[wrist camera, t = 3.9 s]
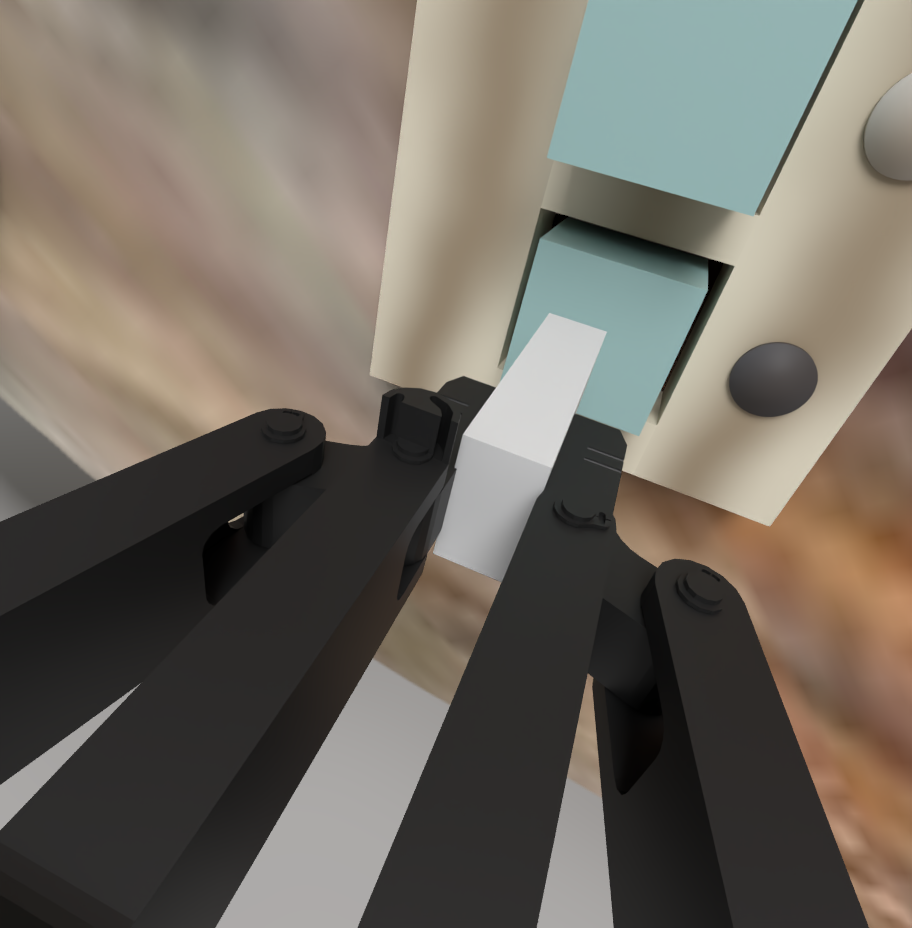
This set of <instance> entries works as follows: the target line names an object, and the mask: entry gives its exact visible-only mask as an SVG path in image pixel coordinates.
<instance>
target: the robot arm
mask: <svg viewBox="0 0 912 928" xmlns="http://www.w3.org/2000/svg"><path fill="white" fill-rule="evenodd" d="M606 333H607V332H606V331H603V330H600V329H597V328H594V327H591V326H588V325H585V324H582V323H579V322H576V321H573V320H570V319H567V318H564V317H561V316H557V315H554V314H551V313H549V314H548V316H547V317H546V318H545V320H544V321H543V323H542V324H541V325H540V327H539V328H538V330H537V331H536V332H535V334H534V335H533V337H532V338H531V339H530V341H529V342H528V344H527V345H526V346H525V348H524V349H523V351H522V352H521V353H520V355H519V356H518V358H517V359H516V360H515V362H514V363H513V365H512V366H511V367H510V369H509V370H508V372H507V373H506V375H505V376H504V377H503V379H502V380H501V382H500V383H499V384H498V386H497V387H493V386H490V385H488V384H485V383H482V382H479V381H476V380H474V379H471V378H468V377H465V376H462V377H459V378H456V379H453V380H451V381H448V382H446V383H445V384H444V385H443V386H442V387H441V389H440V390H439V391H438V392H437V393H436V392H433V391H429V390H425V389H422V388H407V387H405V388H399V389H393V390H391V391H389V392H387V393H385V394H383V395H382V402H381V409H380V416H379V423H378V430H377V437H376V438H375V439H374V440H373V441H372V442H371V443H370V444H369V445H368V446H357V445H348V444H342V443H336V442H330V441H325V439H326V431H325V429H324V426H323V424H322V423H321V422H320V421H319V420H318V419H317V418H315V417H314V416H312V415H310V414H307V413H305V412H303V411H299V410H293V409H287V408H283V409H268V410H265V411H261V412H257V413H255V414H252V415H250V416H248V417H245V418H243V419H241V420H238V421H236V422H234V423H231V424H229V425H226V426H224V427H222V428H219V429H217V430H215V431H212V432H210V433H208V434H205V435H203V436H201V437H198V438H196V439H194V440H191V441H189V442H187V443H184V444H182V445H180V446H177V447H175V448H172V449H170V450H168V451H165V452H163V453H161V454H158V455H156V456H154V457H151V458H149V459H147V460H144V461H142V462H140V463H137V464H135V465H133V466H130V467H128V468H125V469H123V470H121V471H118V472H116V473H114V474H111V475H109V476H107V477H104V478H102V479H100V480H97V481H95V482H93V483H90V484H88V485H86V486H83V487H81V488H79V489H76V490H74V491H71V492H69V493H67V494H64V495H62V496H60V497H57V498H55V499H53V500H50V501H49V502H46V503H44V504H41V505H39V506H36V507H34V508H32V509H29V510H27V511H24V512H22V513H20V514H17V515H15V516H13V517H11V518H8V519H6V520H3V521H1V522H0V784H2V783H3V782H5V781H6V780H7V779H9V778H10V777H12V776H13V775H14V774H16V773H17V772H19V771H20V770H21V769H23V768H24V767H25V766H27V765H28V764H29V763H31V762H32V761H34V760H35V759H36V758H38V757H39V756H40V755H42V754H43V753H45V752H46V751H48V750H49V749H50V748H52V747H53V746H54V745H56V744H57V743H59V742H60V741H61V740H62V739H64V738H65V737H67V736H68V735H70V734H71V733H72V732H74V731H75V730H77V729H78V728H79V727H80V726H82V725H83V724H85V723H86V722H88V721H89V720H90V719H92V718H93V717H95V716H96V715H97V714H99V713H100V712H101V711H103V710H104V709H106V708H107V707H108V706H110V705H111V704H112V703H114V702H115V701H117V700H118V699H119V698H121V697H122V696H124V695H125V694H126V693H127V692H129V691H130V690H132V689H133V688H134V687H136V686H137V685H139V684H140V683H141V682H142V683H141V684H140V685H139V686H138V687H137V688H136V689H135V690H134V691H133V692H132V693H131V694H130V695H129V696H128V697H127V699H126V700H125V701H124V702H123V703H122V704H121V705H120V706H119V707H118V708H117V709H116V710H115V711H114V712H113V713H112V714H111V715H110V717H109V718H108V719H107V720H105V722H104V723H103V724H102V725H101V726H100V727H99V728H98V729H97V730H96V731H95V732H94V733H93V734H92V735H91V736H90V737H89V738H88V739H87V740H86V742H85V743H84V744H83V745H82V746H81V747H80V748H79V749H78V750H77V751H76V752H75V753H74V754H73V755H72V756H71V757H70V758H69V759H68V760H67V761H66V762H65V764H63V765H62V767H61V768H60V769H59V770H58V771H57V772H56V773H55V774H54V775H53V776H52V777H51V778H50V779H49V780H48V781H47V782H46V783H45V784H44V785H43V787H42V788H40V790H39V791H38V792H37V793H36V794H35V795H34V796H33V797H32V798H31V799H30V800H29V801H28V802H27V803H26V804H25V805H24V806H23V807H22V808H21V809H20V810H19V812H18V813H17V814H16V815H15V816H14V817H13V818H12V819H11V820H10V821H9V822H8V823H7V824H6V825H5V826H4V827H3V828H2V829H1V830H0V928H215V927H216V925H217V924H218V922H219V920H220V919H221V917H222V915H223V913H224V912H225V910H226V908H227V907H228V905H229V903H230V901H231V899H232V898H233V896H234V895H235V893H236V891H237V890H238V888H239V886H240V884H241V883H242V881H243V879H244V878H245V876H246V874H247V872H248V871H249V869H250V867H251V866H252V864H253V862H254V860H255V859H256V857H257V855H258V854H259V852H260V850H261V848H262V847H263V845H264V843H265V842H266V840H267V838H268V836H269V835H270V833H271V831H272V830H273V828H274V826H275V824H276V822H277V821H278V819H279V818H280V816H281V814H282V812H283V811H284V809H285V807H286V806H287V804H288V802H289V800H290V799H291V797H292V795H293V794H294V792H295V790H296V788H297V787H298V785H299V783H300V782H301V780H302V778H303V776H304V775H305V773H306V771H307V770H308V768H309V766H310V764H311V763H312V761H313V759H314V758H315V756H316V754H317V752H318V751H319V749H320V747H321V746H322V744H323V742H324V741H325V739H326V737H327V735H328V734H329V732H330V730H331V728H332V727H333V725H334V723H335V722H336V720H337V718H338V717H339V714H340V713H341V711H342V709H343V708H344V706H345V704H346V703H347V701H348V699H349V698H350V696H351V694H352V693H353V691H354V689H355V687H356V686H357V684H358V682H359V680H360V679H361V677H362V675H363V674H364V672H365V670H366V669H367V667H368V665H369V663H370V662H371V660H372V658H373V657H374V655H375V653H376V651H377V650H378V648H379V646H380V645H381V643H382V641H383V639H384V638H385V636H386V634H387V633H388V631H389V629H390V628H391V626H392V624H393V622H394V621H395V619H396V617H397V616H398V614H399V612H400V610H401V609H402V607H403V605H404V604H405V602H406V600H407V598H408V597H409V595H410V593H411V592H412V590H413V588H414V586H415V585H416V583H417V581H418V580H419V578H420V576H421V574H422V572H423V569H424V565H425V561H426V557H427V553H428V551H429V550H430V548H431V546H432V545H433V543H434V541H435V540H436V538H437V540H436V544H435V548H434V552H433V554H435V555H438V556H440V557H443V558H445V559H447V560H450V561H452V562H454V563H457V564H459V565H462V566H464V567H466V568H469V569H471V570H474V571H476V572H478V573H481V574H483V575H486V576H488V577H490V578H493V579H495V580H498V581H500V582H502V583H501V585H500V588H499V590H498V592H497V595H496V597H495V600H494V602H493V604H492V607H491V609H490V612H489V614H488V616H487V619H486V621H485V624H484V626H483V628H482V631H481V633H480V635H479V638H478V640H477V643H476V645H475V647H474V650H473V652H472V655H471V657H470V659H469V662H468V664H467V667H466V669H465V671H464V674H463V676H462V679H461V681H460V683H459V686H458V688H457V691H456V693H455V695H454V698H453V700H452V703H451V705H450V707H449V710H448V712H447V715H446V717H445V720H444V722H443V724H442V727H441V729H440V732H439V734H438V736H437V739H436V741H435V743H434V746H433V748H432V751H431V753H430V755H429V758H428V760H427V763H426V765H425V767H424V770H423V772H422V775H421V777H420V780H419V782H418V784H417V787H416V789H415V791H414V794H413V796H412V799H411V801H410V803H409V806H408V809H407V811H406V813H405V815H404V818H403V820H402V823H401V825H400V827H399V830H398V832H397V835H396V837H395V839H394V842H393V844H392V847H391V849H390V851H389V854H388V856H387V858H386V861H385V863H384V866H383V868H382V870H381V873H380V875H379V878H378V880H377V883H376V885H375V887H374V890H373V892H372V895H371V897H370V899H369V902H368V904H367V906H366V909H365V911H364V914H363V916H362V918H361V921H360V923H359V926H358V928H537V923H538V918H539V912H540V908H541V903H542V898H543V893H544V888H545V883H546V878H547V872H548V868H549V863H550V858H551V853H552V848H553V843H554V838H555V833H556V828H557V823H558V818H559V812H560V808H561V803H562V798H563V793H564V788H565V783H566V778H567V773H568V768H569V763H570V758H571V753H572V748H573V743H574V738H575V733H576V728H577V723H578V718H579V714H580V709H581V704H582V699H583V694H584V689H585V684H586V679H587V674H590V675H591V676H592V677H593V686H592V688H593V700H594V711H595V722H596V733H597V744H598V756H599V767H600V778H601V789H602V801H603V811H604V823H605V834H606V845H607V856H608V867H609V879H610V889H611V901H612V913H613V924H614V928H869V927H868V924H867V921H866V919H865V916H864V914H863V911H862V908H861V906H860V903H859V901H858V898H857V895H856V893H855V890H854V887H853V885H852V882H851V880H850V877H849V874H848V872H847V869H846V867H845V864H844V861H843V859H842V856H841V854H840V851H839V848H838V846H837V843H836V841H835V838H834V835H833V833H832V830H831V827H830V825H829V822H828V820H827V817H826V814H825V812H824V809H823V807H822V804H821V801H820V799H819V796H818V794H817V791H816V788H815V786H814V783H813V780H812V778H811V775H810V773H809V770H808V767H807V765H806V762H805V760H804V757H803V754H802V752H801V749H800V747H799V744H798V741H797V739H796V736H795V733H794V731H793V728H792V726H791V723H790V720H789V718H788V715H787V713H786V710H785V707H784V705H783V702H782V700H781V697H780V694H779V692H778V689H777V686H776V684H775V681H774V679H773V676H772V673H771V671H770V668H769V666H768V663H767V660H766V658H765V655H764V653H763V650H762V647H761V645H760V642H759V640H758V637H757V634H756V632H755V629H754V626H753V624H752V621H751V619H750V616H749V613H748V611H747V608H746V606H745V603H744V601H743V600H742V598H741V596H740V595H739V593H738V591H737V590H736V589H735V588H734V587H733V586H732V585H731V584H730V583H729V582H728V581H727V580H726V579H725V578H724V577H723V576H722V575H720V574H718V573H717V572H715V571H714V570H712V569H710V568H709V567H707V566H705V565H702V564H699V563H696V562H694V561H691V560H683V559H672V560H669V561H665V562H662V564H661V565H660V566H659V567H658V568H657V567H655V566H654V565H652V564H651V563H649V562H648V561H646V560H644V559H643V558H641V557H640V556H639V555H637V554H636V553H635V552H633V551H632V550H631V549H630V548H629V547H628V546H627V545H626V544H625V543H624V542H623V541H622V540H621V539H620V537H619V536H618V534H617V532H616V521H615V518H614V516H613V511H614V506H615V501H616V496H617V492H618V487H619V482H620V477H621V472H622V468H623V463H624V462H623V461H624V459H625V454H626V449H627V444H626V442H625V439H624V437H623V435H622V433H621V431H620V430H619V429H616V428H613V427H610V426H608V425H605V424H602V423H599V422H596V421H594V420H591V419H588V418H585V417H582V416H580V415H577V414H576V412H577V409H578V406H579V404H580V401H581V399H582V396H583V393H584V391H585V388H586V385H587V383H588V380H589V378H590V375H591V372H592V370H593V367H594V365H595V362H596V359H597V357H598V354H599V351H600V349H601V346H602V344H603V341H604V338H605V336H606ZM242 513H244V516H243V517H241V518H239V519H238V520H236V521H233V522H230V523H228V521H230V520H232V519H233V518H235V517H237V516H239V515H240V514H242Z"/></svg>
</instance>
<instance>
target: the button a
mask: <svg viewBox="0 0 912 928" xmlns="http://www.w3.org/2000/svg"><path fill="white" fill-rule="evenodd" d="M707 291H708V259H706V258H702V257H699V256H696V255H692V254H689V253H686V252H682V251H679V250H676V249H672V248H669V247H666V246H662V245H659V244H656V243H653V242H649V241H646V240H643V239H639V238H636V237H633V236H629V235H626V234H623V233H619V232H616V231H613V230H609V229H606V228H603V227H599V226H596V225H593V224H589V223H586V222H583V221H579V220H576V219H573V218H569V217H567V218H566V219H565V220H563V221H562V222H561V223H559V224H558V225H557V226H556V227H554V228H553V229H552V230H550V231H549V232H548V233H546V234H545V235H544V236H542V237H541V238H540V240H539V244H538V247H537V251H536V255H535V258H534V262H533V265H532V269H531V273H530V276H529V280H528V283H527V287H526V290H525V294H524V298H523V301H522V305H521V308H520V312H519V315H518V319H517V323H516V326H515V330H514V333H513V337H512V340H511V344H510V348H509V351H508V355H507V358H506V362H505V365H504V369H503V373H502V376H501V380H502V379H503V377H504V376H505V375H506V373H507V372H508V370H509V369H510V367H511V366H512V365H513V363H514V362H515V360H516V359H517V358H518V356H519V355H520V353H521V352H522V351H523V349H524V348H525V346H526V345H527V344H528V342H529V341H530V339H531V338H532V337H533V335H534V334H535V332H536V331H537V330H538V328H539V327H540V325H541V324H542V323H543V321H544V320H545V318H546V317H547V316H548V314H549V313H551V314H554V315H557V316H561V317H564V318H567V319H570V320H573V321H576V322H579V323H582V324H585V325H588V326H591V327H594V328H597V329H600V330H603V331H606V332H607V333H606V336H605V338H604V341H603V344H602V346H601V349H600V351H599V354H598V357H597V359H596V362H595V365H594V367H593V370H592V372H591V375H590V378H589V380H588V383H587V385H586V388H585V391H584V393H583V396H582V399H581V401H580V404H579V406H578V409H577V412H576V413H577V414H579V415H582V416H585V417H588V418H590V419H593V420H596V421H598V422H601V423H604V424H607V425H609V426H612V427H615V428H618V429H620V430H623V431H626V432H629V433H631V434H634V435H637V436H639V435H640V433H641V431H642V429H643V427H644V425H645V423H646V420H647V418H648V416H649V414H650V412H651V410H652V408H653V406H654V403H655V401H656V399H657V397H658V395H659V393H660V391H661V389H662V387H663V384H664V382H665V380H666V378H667V376H668V374H669V372H670V370H671V367H672V365H673V363H674V361H675V359H676V357H677V355H678V353H679V351H680V348H681V346H682V344H683V342H684V340H685V338H686V336H687V334H688V331H689V329H690V327H691V325H692V323H693V321H694V319H695V317H696V315H697V312H698V310H699V308H700V306H701V304H702V302H703V300H704V298H705V295H706V293H707ZM501 380H500V382H501Z"/></svg>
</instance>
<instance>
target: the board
mask: <svg viewBox="0 0 912 928" xmlns="http://www.w3.org/2000/svg"><path fill="white" fill-rule="evenodd" d="M587 4H588V0H417V6H416V14H415V22H414V30H413V38H412V46H411V53H410V61H409V69H408V77H407V85H406V93H405V101H404V109H403V117H402V124H401V132H400V140H399V148H398V156H397V164H396V172H395V180H394V188H393V195H392V203H391V211H390V219H389V227H388V235H387V243H386V251H385V259H384V266H383V274H382V282H381V290H380V298H379V306H378V314H377V322H376V330H375V337H374V345H373V353H372V361H371V369H370V375H371V376H373V377H376V378H379V379H381V380H384V381H387V382H389V383H392V384H395V385H397V386H400V387H402V388H405V387H407V388H422V389H425V390H429V391H433V392H436V393H437V392H438V391H439V390H440V389H441V387H442V386H443V385H444V384H445V383H446V382H448V381H451V380H453V379H456V378H459V377H462V376H465V377H468V378H471V379H474V380H476V381H479V382H482V383H485V384H488V385H490V386H493V387H497V386H498V384H499V383H500V380H501V376H502V373H503V369H504V365H505V362H506V358H507V355H508V351H509V348H510V344H511V340H512V337H513V333H514V330H515V326H516V323H517V319H518V315H519V312H520V308H521V305H522V301H523V298H524V294H525V290H526V287H527V283H528V280H529V276H530V273H531V269H532V265H533V262H534V258H535V255H536V251H537V247H538V244H539V240H540V238H541V237H542V236H544V235H545V234H546V233H548V232H549V231H550V230H551V229H552V225H553V222H554V218H555V215H556V213H560V214H563V215H566V216H570V217H573V218H576V219H580V220H583V221H586V222H590V223H593V224H596V225H600V226H603V227H606V228H610V229H613V230H616V231H620V232H623V233H626V234H630V235H633V236H636V237H640V238H643V239H646V240H650V241H653V242H656V243H660V244H663V245H666V246H670V247H673V248H676V249H680V250H683V251H686V252H690V253H693V254H696V255H699V256H703V257H706V258H709V259H713V260H716V261H719V262H723V263H724V264H723V266H722V268H721V270H720V272H719V274H718V276H717V278H716V280H715V283H714V285H713V287H712V289H711V291H710V293H709V295H708V297H707V299H706V302H705V304H704V306H703V308H702V310H701V312H700V314H699V316H698V318H697V320H696V323H695V325H694V327H693V329H692V331H691V333H690V335H689V337H688V339H687V342H686V344H685V346H684V348H683V350H682V352H681V354H680V356H679V358H678V360H677V363H676V365H675V367H674V369H673V371H672V373H671V375H670V377H669V379H668V381H667V384H666V386H665V388H664V390H663V392H662V391H660V393H659V395H658V397H657V399H656V401H655V403H654V406H653V408H652V410H651V412H650V414H649V416H648V418H647V420H646V423H645V425H644V427H643V429H642V431H641V433H640V435H639V436H637V435H634V434H631V433H629V432H626V431H623V430H620V429H619V430H620V431H621V433H622V435H623V437H624V439H625V442H626V444H627V449H626V454H625V459H624V461H623V462H624V463H623V468H622V471H624V472H627V473H630V474H632V475H635V476H638V477H640V478H643V479H646V480H648V481H651V482H653V483H656V484H659V485H661V486H664V487H667V488H669V489H672V490H675V491H677V492H680V493H683V494H685V495H688V496H690V497H693V498H696V499H698V500H701V501H704V502H706V503H709V504H712V505H714V506H717V507H719V508H722V509H725V510H727V511H730V512H733V513H735V514H738V515H741V516H743V517H746V518H749V519H751V520H754V521H756V522H759V523H762V524H764V525H767V526H771V524H772V523H773V521H774V520H775V519H776V517H777V516H778V514H779V513H780V512H781V510H782V509H783V507H784V506H785V505H786V503H787V502H788V500H789V499H790V498H791V496H792V495H793V493H794V492H795V491H796V489H797V488H798V486H799V485H800V484H801V482H802V481H803V479H804V478H805V477H806V475H807V474H808V472H809V471H810V470H811V468H812V467H813V465H814V464H815V463H816V461H817V460H818V458H819V457H820V456H821V454H822V453H823V451H824V450H825V449H826V447H827V446H828V444H829V443H830V442H831V440H832V439H833V437H834V436H835V435H836V433H837V432H838V430H839V429H840V428H841V426H842V425H843V424H844V422H845V421H846V419H847V418H848V417H849V415H850V414H851V412H852V411H853V410H854V408H855V407H856V405H857V404H858V403H859V401H860V400H861V398H862V397H863V396H864V394H865V393H866V391H867V390H868V389H869V387H870V386H871V384H872V383H873V382H874V380H875V379H876V377H877V376H878V375H879V373H880V372H881V370H882V369H883V368H884V366H885V365H886V363H887V362H888V361H889V359H890V358H891V356H892V355H893V354H894V352H895V351H896V349H897V348H898V347H899V345H900V344H901V342H902V341H903V340H904V338H905V337H906V335H907V334H908V333H909V331H910V330H911V328H912V0H858V1H857V3H856V5H855V7H854V9H853V11H852V13H851V15H850V17H849V19H848V22H847V24H846V26H845V28H844V30H843V32H842V34H841V36H840V38H839V40H838V42H837V44H836V46H835V48H834V51H833V53H832V55H831V57H830V59H829V61H828V63H827V65H826V67H825V69H824V71H823V73H822V75H821V77H820V80H819V82H818V84H817V86H816V88H815V90H814V92H813V94H812V96H811V98H810V100H809V102H808V104H807V107H806V109H805V111H804V113H803V115H802V117H801V119H800V121H799V123H798V125H797V127H796V129H795V131H794V133H793V136H792V138H791V140H790V142H789V144H788V146H787V148H786V150H785V152H784V154H783V156H782V158H781V160H780V162H779V165H778V167H777V169H776V171H775V173H774V175H773V177H772V179H771V181H770V183H769V185H768V187H767V189H766V191H765V194H764V196H763V198H762V200H761V202H760V204H759V206H758V208H757V210H756V212H755V214H754V216H750V215H747V214H743V213H739V212H736V211H732V210H729V209H725V208H722V207H718V206H715V205H711V204H708V203H704V202H701V201H697V200H694V199H690V198H687V197H683V196H679V195H676V194H672V193H669V192H665V191H662V190H658V189H655V188H651V187H648V186H644V185H641V184H637V183H634V182H630V181H626V180H623V179H619V178H616V177H612V176H609V175H605V174H602V173H598V172H595V171H591V170H588V169H584V168H581V167H577V166H573V165H570V164H566V163H563V162H559V161H556V160H552V159H549V158H547V155H548V151H549V147H550V143H551V140H552V136H553V132H554V128H555V125H556V121H557V117H558V113H559V109H560V106H561V102H562V98H563V94H564V91H565V87H566V83H567V79H568V76H569V72H570V68H571V64H572V60H573V57H574V53H575V49H576V45H577V42H578V38H579V34H580V30H581V26H582V23H583V19H584V15H585V11H586V8H587ZM576 414H577V413H576ZM577 415H579V414H577ZM580 416H582V415H580ZM582 417H585V416H582ZM585 418H588V417H585ZM588 419H590V418H588ZM591 420H593V419H591ZM594 421H596V420H594ZM596 422H598V421H596ZM599 423H601V422H599ZM602 424H604V423H602ZM605 425H607V424H605ZM608 426H609V425H608ZM610 427H612V426H610ZM613 428H615V427H613ZM616 429H618V428H616Z"/></svg>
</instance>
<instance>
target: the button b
mask: <svg viewBox="0 0 912 928" xmlns="http://www.w3.org/2000/svg"><path fill="white" fill-rule="evenodd" d="M857 1H858V0H588V4H587V8H586V11H585V15H584V19H583V23H582V26H581V30H580V34H579V38H578V42H577V45H576V49H575V53H574V57H573V60H572V64H571V68H570V72H569V76H568V79H567V83H566V87H565V91H564V94H563V98H562V102H561V106H560V109H559V113H558V117H557V121H556V125H555V128H554V132H553V136H552V140H551V143H550V147H549V151H548V155H547V158H549V159H552V160H556V161H559V162H563V163H566V164H570V165H573V166H577V167H581V168H584V169H588V170H591V171H595V172H598V173H602V174H605V175H609V176H612V177H616V178H619V179H623V180H626V181H630V182H634V183H637V184H641V185H644V186H648V187H651V188H655V189H658V190H662V191H665V192H669V193H672V194H676V195H679V196H683V197H687V198H690V199H694V200H697V201H701V202H704V203H708V204H711V205H715V206H718V207H722V208H725V209H729V210H732V211H736V212H739V213H743V214H747V215H750V216H754V214H755V212H756V210H757V208H758V206H759V204H760V202H761V200H762V198H763V196H764V194H765V191H766V189H767V187H768V185H769V183H770V181H771V179H772V177H773V175H774V173H775V171H776V169H777V167H778V165H779V162H780V160H781V158H782V156H783V154H784V152H785V150H786V148H787V146H788V144H789V142H790V140H791V138H792V136H793V133H794V131H795V129H796V127H797V125H798V123H799V121H800V119H801V117H802V115H803V113H804V111H805V109H806V107H807V104H808V102H809V100H810V98H811V96H812V94H813V92H814V90H815V88H816V86H817V84H818V82H819V80H820V77H821V75H822V73H823V71H824V69H825V67H826V65H827V63H828V61H829V59H830V57H831V55H832V53H833V51H834V48H835V46H836V44H837V42H838V40H839V38H840V36H841V34H842V32H843V30H844V28H845V26H846V24H847V22H848V19H849V17H850V15H851V13H852V11H853V9H854V7H855V5H856V3H857Z"/></svg>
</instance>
